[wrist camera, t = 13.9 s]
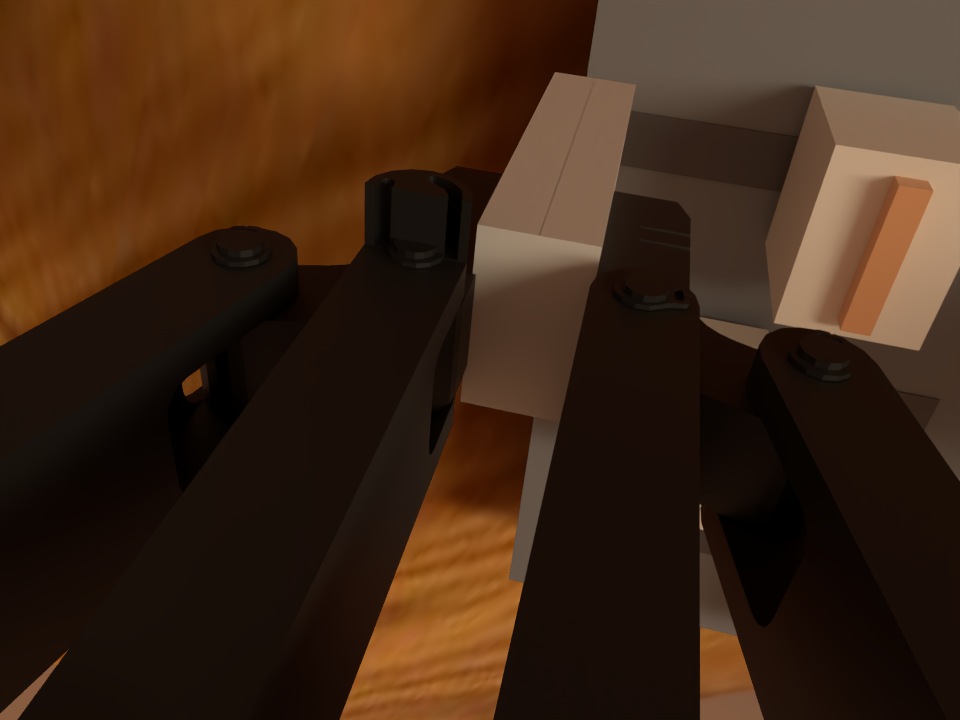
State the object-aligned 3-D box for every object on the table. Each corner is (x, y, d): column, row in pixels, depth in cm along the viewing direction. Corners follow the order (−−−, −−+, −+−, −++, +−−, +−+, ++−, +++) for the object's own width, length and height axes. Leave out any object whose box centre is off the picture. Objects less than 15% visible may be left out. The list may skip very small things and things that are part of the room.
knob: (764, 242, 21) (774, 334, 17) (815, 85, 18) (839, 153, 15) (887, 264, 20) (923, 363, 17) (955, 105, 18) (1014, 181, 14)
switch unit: (531, 496, 35) (507, 586, 31) (629, -91, 22) (608, -68, 18) (867, 574, 33) (888, 682, 29) (1195, -23, 20) (1318, 21, 16)
